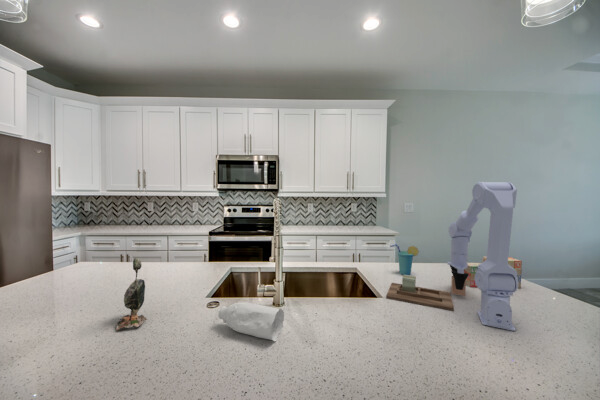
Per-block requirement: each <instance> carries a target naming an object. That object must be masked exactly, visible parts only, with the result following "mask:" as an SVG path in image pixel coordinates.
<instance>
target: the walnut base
mask: <svg viewBox="0 0 600 400" xmlns="http://www.w3.org/2000/svg"><path fill="white" fill-rule="evenodd" d="M416 277H417V275H416V276H415V275H402V277H401V278H402V280H401V281H402V283H396V282H391V283H390V286H389V289H388V291H387V293H386V296H385V298H386V299H388V300H394V301H399V302H405V303H409V304H415V305H420V306H425V307H430V308H436V309H441V310H446V311H451V312H454V311H455V310H454V309H455V308H454V302H453V299H452V292H450V291H446V290H440V289H433V288H427V287H419V286H416V280H417V279H416Z"/></svg>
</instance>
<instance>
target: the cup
mask: <svg viewBox="0 0 600 400" xmlns="http://www.w3.org/2000/svg"><path fill="white" fill-rule="evenodd" d="M389 246H390V248H392V247H393V248H394V247H397V250H398V251H397V256H398V269H399V271H398V272H399V275H401V274H402V276H403V275H410V276H412V274H411V273H412V267H413V266H412V265H413V257H416V256H418V254H419V252H420V251H419V248H418V247H416V246H414V245H412V246H409V247H408V248H407V251H406V250H405V251H404V250H401V249H400V246H399V245H398V244H396V243H395V244H391V245H389Z"/></svg>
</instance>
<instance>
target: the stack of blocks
mask: <svg viewBox="0 0 600 400" xmlns="http://www.w3.org/2000/svg"><path fill="white" fill-rule="evenodd" d="M486 260H487V256H485V255H484V256H482V262H484V261H486ZM482 262H467V265H468V267H467V268H466V269H465V270H464V273H468V274H469V276H468V277H467V278H466V286H468V287H469V288H478V287H477V286H476V283H475V274H476V272H477V269H478V265H479V264H481V263H482ZM522 262H523V261H522V260H520V259H517V258H514V257H511V256H510V257H509V256H508V264H509V265H510V266H511V267H513V268H514V269H515V270H516V271H517V280H518V289H519V290H520V289H522V275H523V274H522V271H523V269H522V265H523V263H522ZM518 289H517V290H518Z"/></svg>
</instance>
